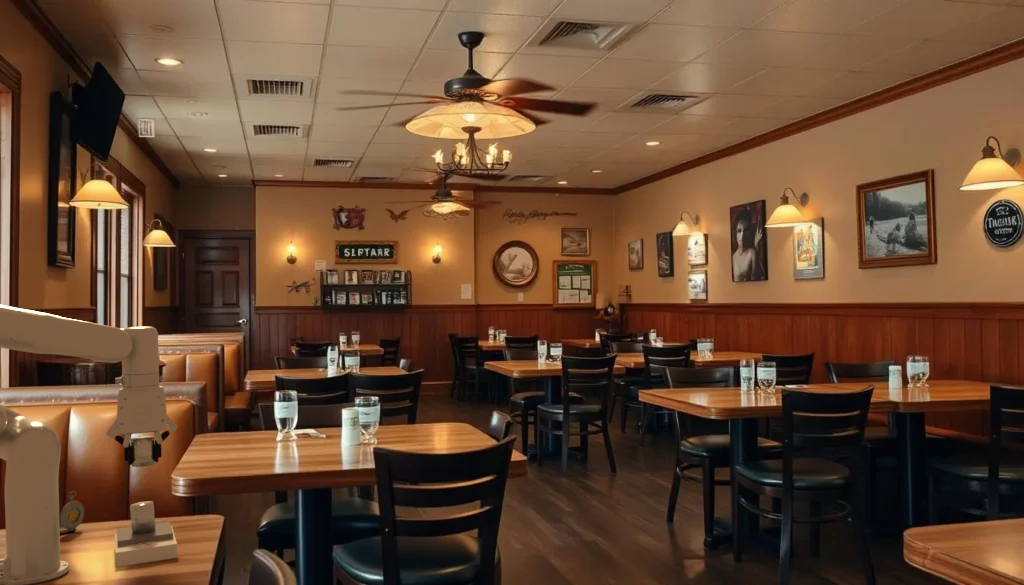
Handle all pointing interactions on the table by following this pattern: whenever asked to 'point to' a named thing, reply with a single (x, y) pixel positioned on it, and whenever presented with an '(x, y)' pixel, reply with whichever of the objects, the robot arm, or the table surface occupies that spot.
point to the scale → (145, 545)
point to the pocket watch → (71, 515)
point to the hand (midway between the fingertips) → (143, 461)
